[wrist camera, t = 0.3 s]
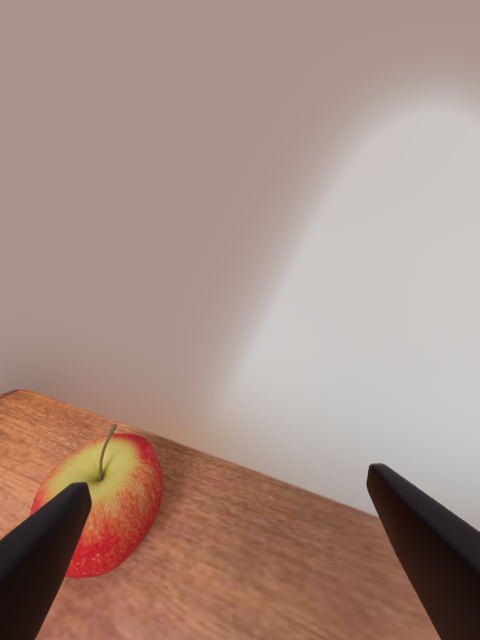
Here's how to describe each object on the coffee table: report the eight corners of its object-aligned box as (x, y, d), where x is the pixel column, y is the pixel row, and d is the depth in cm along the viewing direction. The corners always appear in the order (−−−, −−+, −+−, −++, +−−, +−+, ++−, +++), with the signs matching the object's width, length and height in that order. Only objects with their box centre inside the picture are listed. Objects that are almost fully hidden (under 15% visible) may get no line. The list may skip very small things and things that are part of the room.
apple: (187, 510, 21) (180, 424, 17) (89, 648, 14) (45, 549, 10) (128, 466, 24) (113, 388, 21) (28, 556, 17) (-19, 461, 14)
